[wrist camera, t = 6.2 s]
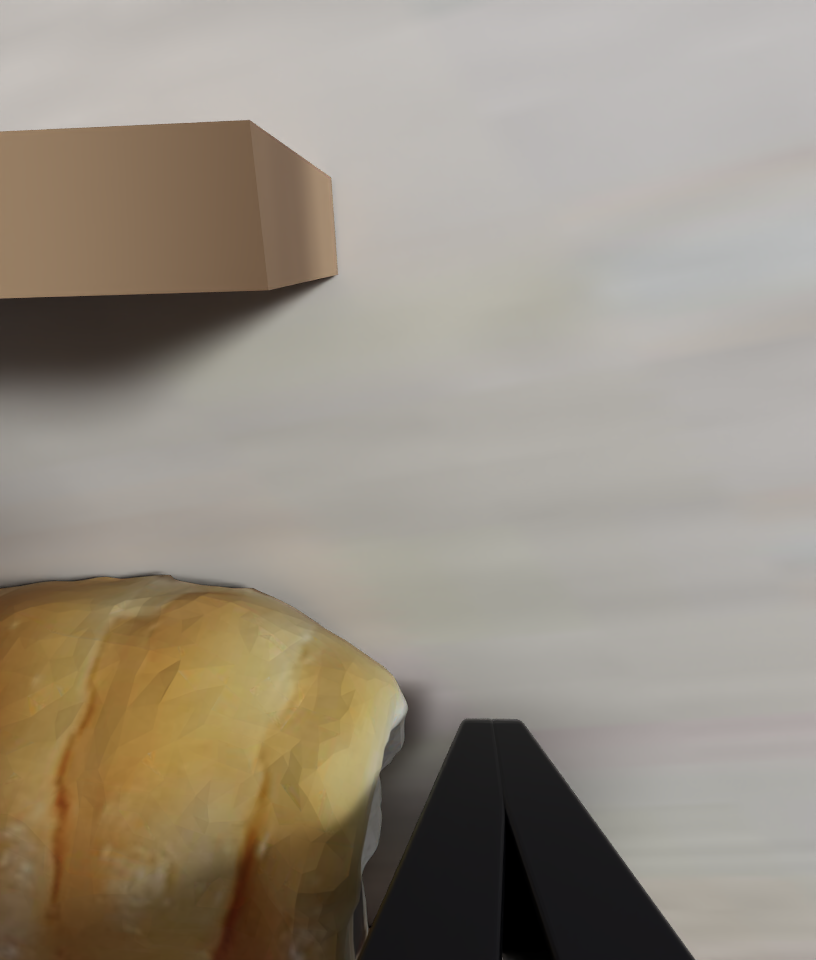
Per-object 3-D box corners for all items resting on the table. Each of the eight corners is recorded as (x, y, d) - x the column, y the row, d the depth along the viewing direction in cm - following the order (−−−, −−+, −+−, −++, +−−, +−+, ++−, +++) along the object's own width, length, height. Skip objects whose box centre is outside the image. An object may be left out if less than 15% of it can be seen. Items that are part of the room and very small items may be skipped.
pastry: (-124, 841, 11) (-401, 1130, 7) (-235, 504, 8) (-735, 688, 5) (386, 896, 11) (360, 1217, 7) (421, 570, 8) (409, 808, 5)
